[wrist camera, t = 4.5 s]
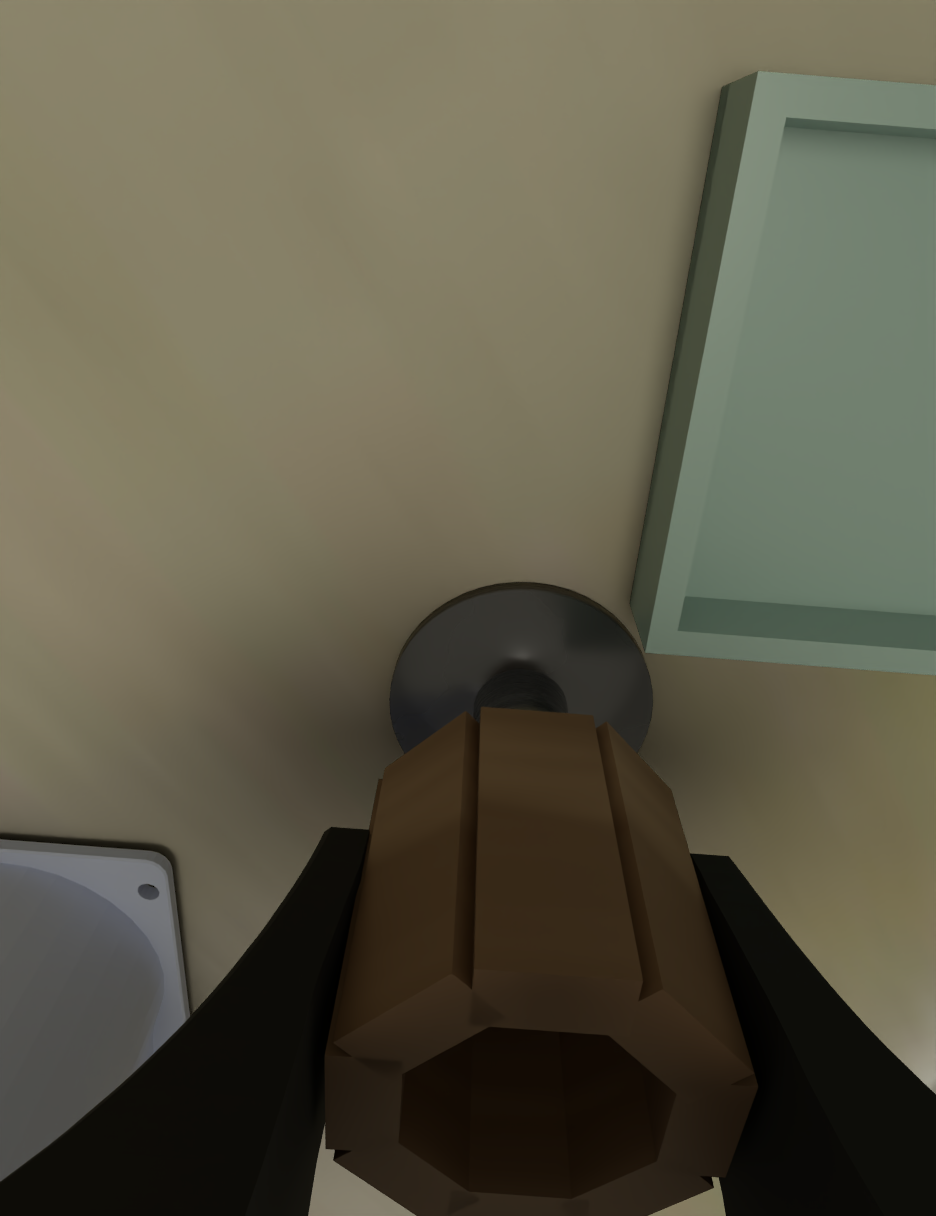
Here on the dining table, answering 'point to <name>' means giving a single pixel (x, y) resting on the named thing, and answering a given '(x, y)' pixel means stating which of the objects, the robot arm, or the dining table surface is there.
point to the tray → (803, 389)
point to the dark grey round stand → (520, 663)
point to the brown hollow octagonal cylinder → (532, 984)
